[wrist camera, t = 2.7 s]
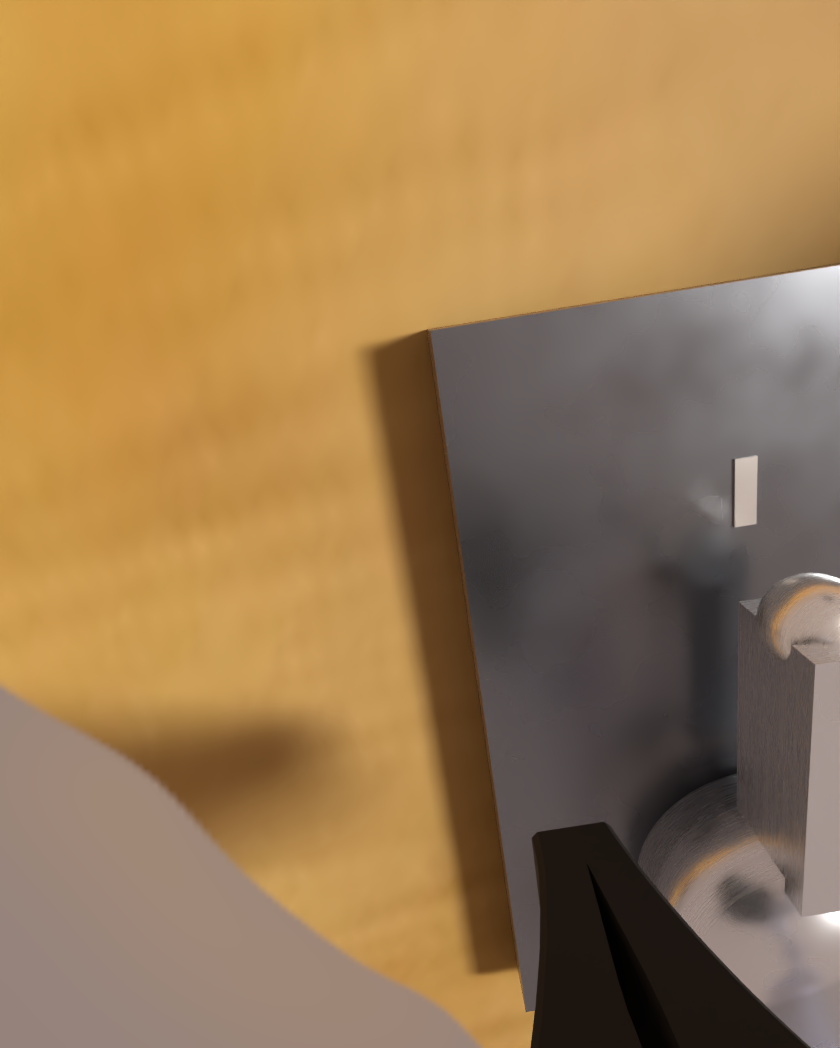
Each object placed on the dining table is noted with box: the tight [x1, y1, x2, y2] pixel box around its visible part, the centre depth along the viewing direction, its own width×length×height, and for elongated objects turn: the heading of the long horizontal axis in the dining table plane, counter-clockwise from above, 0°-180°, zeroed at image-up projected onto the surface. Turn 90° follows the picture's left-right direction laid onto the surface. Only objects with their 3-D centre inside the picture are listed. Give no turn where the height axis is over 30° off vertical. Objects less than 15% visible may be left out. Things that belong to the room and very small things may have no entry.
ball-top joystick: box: [638, 573, 840, 1048], centre depth 14 cm, size 12×6×4 cm, turn 9°
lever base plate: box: [427, 263, 840, 1012], centre depth 16 cm, size 20×15×2 cm
